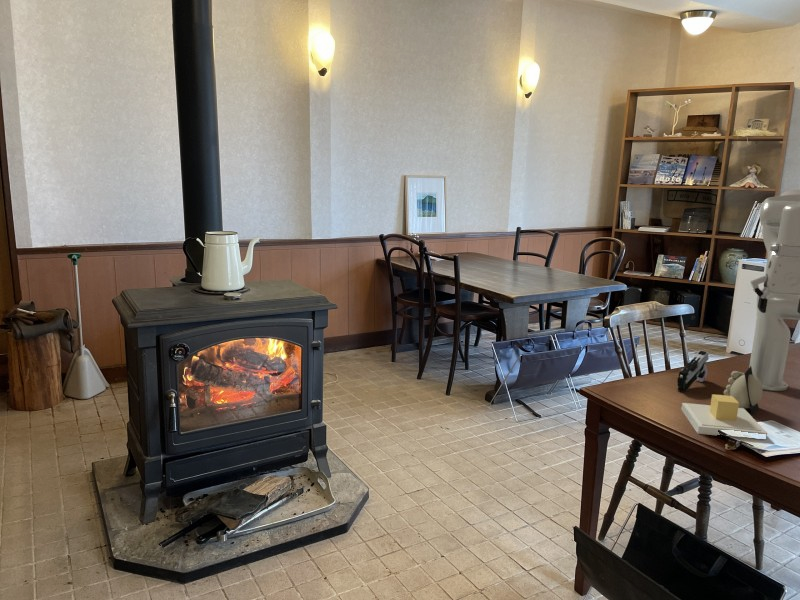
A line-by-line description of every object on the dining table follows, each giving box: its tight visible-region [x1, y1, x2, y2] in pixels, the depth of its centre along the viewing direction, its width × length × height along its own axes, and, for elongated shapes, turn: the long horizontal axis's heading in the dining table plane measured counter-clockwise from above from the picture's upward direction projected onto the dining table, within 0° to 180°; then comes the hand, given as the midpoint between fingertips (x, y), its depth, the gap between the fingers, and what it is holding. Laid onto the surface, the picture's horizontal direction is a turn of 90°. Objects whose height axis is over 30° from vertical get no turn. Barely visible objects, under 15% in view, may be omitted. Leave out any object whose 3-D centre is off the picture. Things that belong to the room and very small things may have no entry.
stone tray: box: [681, 402, 768, 436], centre depth 159 cm, size 16×16×2 cm
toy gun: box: [677, 349, 709, 393], centre depth 187 cm, size 2×18×11 cm, turn 133°
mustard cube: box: [710, 393, 739, 421], centre depth 158 cm, size 5×5×5 cm
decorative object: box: [723, 366, 764, 417], centre depth 169 cm, size 12×10×10 cm
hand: (781, 312), depth 165 cm, fingers open, 9 cm apart
